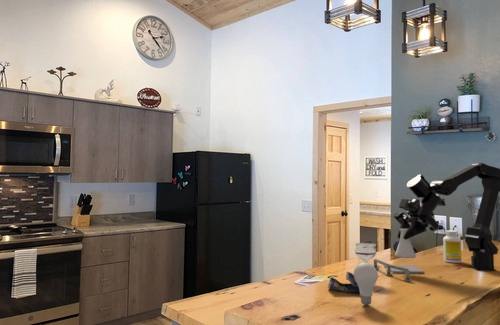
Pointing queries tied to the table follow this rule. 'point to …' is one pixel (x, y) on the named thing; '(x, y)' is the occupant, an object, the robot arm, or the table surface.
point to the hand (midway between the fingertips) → (401, 238)
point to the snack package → (344, 287)
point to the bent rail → (392, 267)
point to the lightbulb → (365, 281)
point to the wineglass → (365, 251)
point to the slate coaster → (411, 268)
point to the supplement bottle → (452, 247)
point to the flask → (404, 247)
